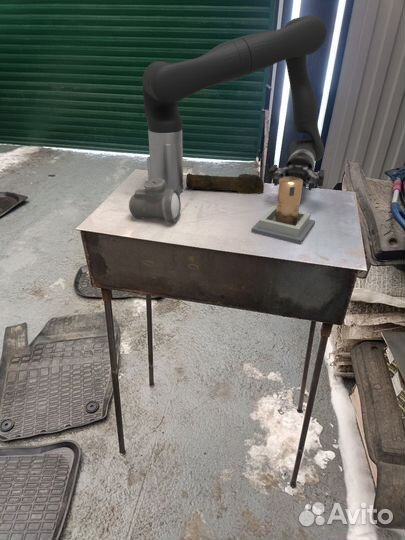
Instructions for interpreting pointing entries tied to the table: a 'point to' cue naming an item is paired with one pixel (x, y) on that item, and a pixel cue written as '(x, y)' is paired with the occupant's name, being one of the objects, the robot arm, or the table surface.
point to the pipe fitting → (156, 201)
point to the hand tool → (226, 183)
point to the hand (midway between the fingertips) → (292, 184)
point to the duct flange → (283, 227)
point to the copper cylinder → (289, 200)
